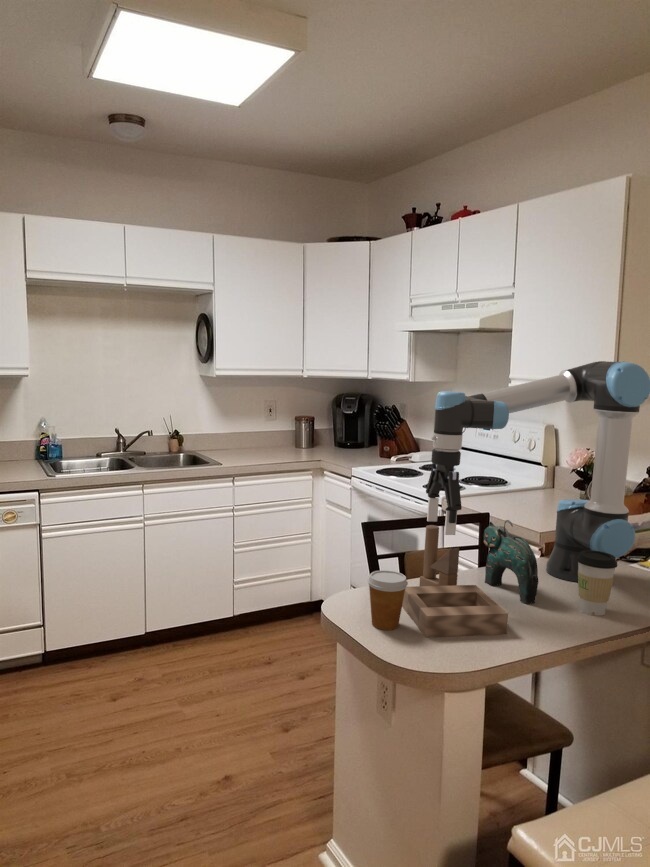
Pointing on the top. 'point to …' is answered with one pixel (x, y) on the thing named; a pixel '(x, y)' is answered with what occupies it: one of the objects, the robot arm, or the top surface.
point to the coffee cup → (595, 580)
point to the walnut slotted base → (454, 611)
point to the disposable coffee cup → (386, 598)
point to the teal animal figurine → (510, 561)
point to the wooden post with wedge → (438, 562)
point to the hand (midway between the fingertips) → (440, 527)
